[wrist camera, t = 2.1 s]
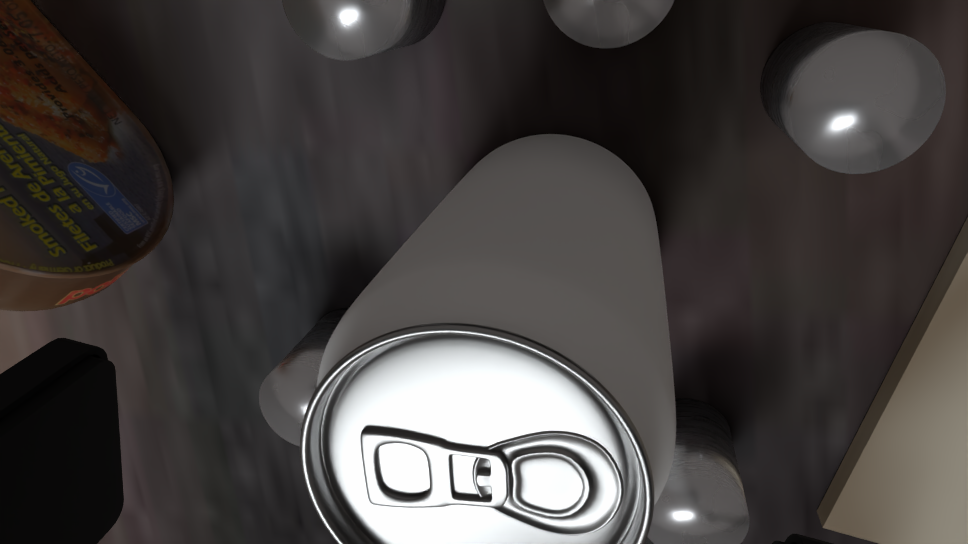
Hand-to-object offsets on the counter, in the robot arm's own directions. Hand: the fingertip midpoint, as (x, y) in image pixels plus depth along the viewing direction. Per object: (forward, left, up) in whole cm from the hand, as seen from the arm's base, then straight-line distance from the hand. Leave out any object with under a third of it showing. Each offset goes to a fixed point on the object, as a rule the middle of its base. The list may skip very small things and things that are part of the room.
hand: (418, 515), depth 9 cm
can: (-1, 0, -13) cm, 13 cm away
